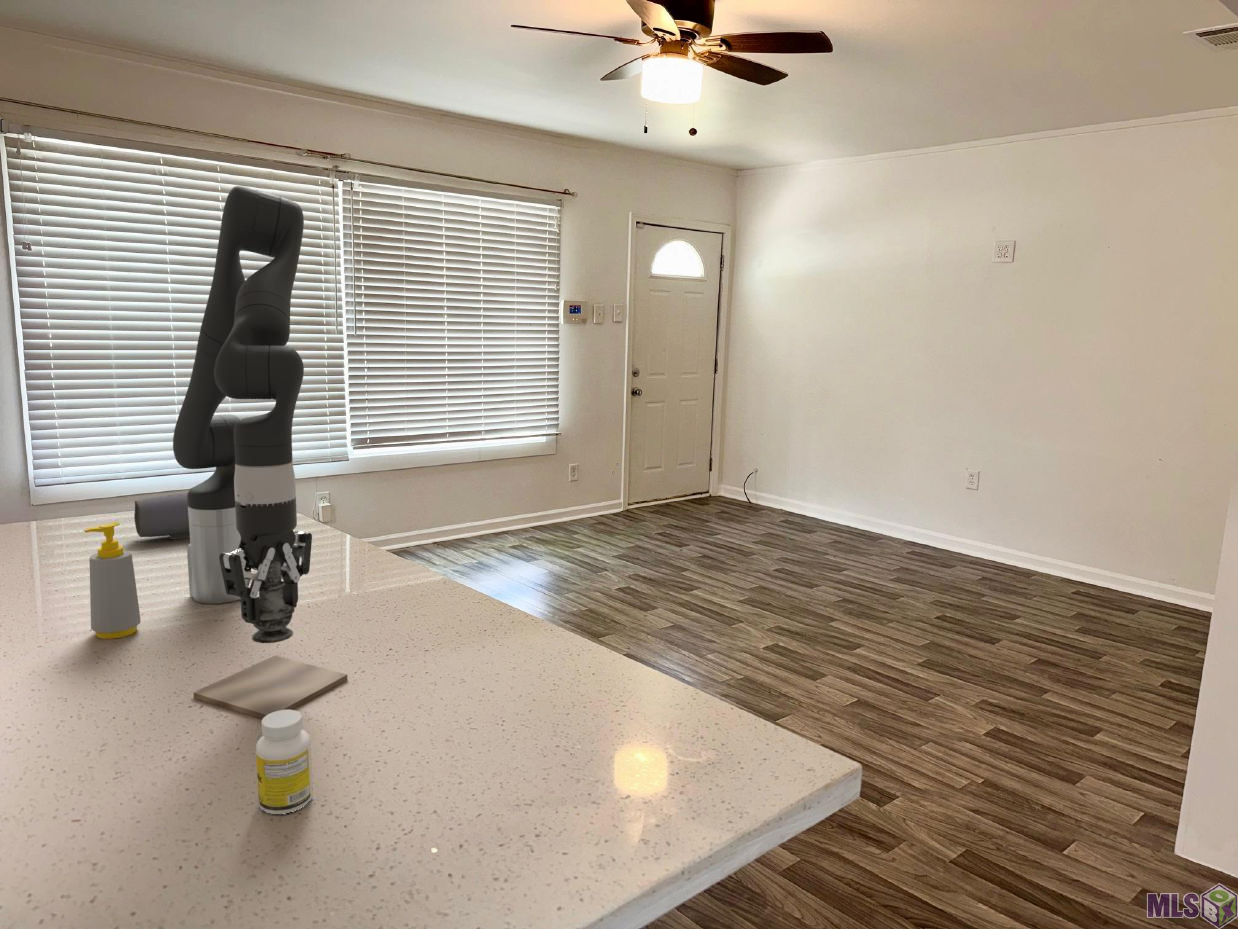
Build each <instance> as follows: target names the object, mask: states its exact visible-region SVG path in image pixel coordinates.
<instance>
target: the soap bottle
mask: <svg viewBox="0 0 1238 929" xmlns="http://www.w3.org/2000/svg"><path fill="white" fill-rule="evenodd" d="M119 525H120V522H118V521H117V522H112V523H109V524H104V525H100V526H93V527H88V528H86V529H84V532H85V533H93V532H94V533H95V532H96V533H103V536H104V537H105V540H103V541H101V544H100V545H101V547H98V548H97V552H95V553H93V554H91V555H90V556H89V592H90V594H89V597H90V598H89V599H90V600H89V601H90V604H89V605H90V629H91V630H92V631H93V632H94V633H95V636H96V637H97V638H99V639H104V640H113V639H121V638H123V637H128V636H130V635H133V634H134V633H136V631H137V628H138V625H140V624H141V622H142V621H141V618H142V617H141V613H140V612H141V611H140V606H139V599H138V589H137V583H136V575H135V567H134V560H133V559H134V558H133V554H132V552H131V551H130V550H126V549H124V547H123V546H122V545H119V541H118V540H117V539H114V536H115V527H118V526H119Z"/></svg>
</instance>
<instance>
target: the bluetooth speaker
mask: <svg viewBox="0 0 1238 929" xmlns="http://www.w3.org/2000/svg"><path fill="white" fill-rule="evenodd" d="M187 495H188V492H186V493H185V492H184V493H178V494H176V493H175V494H169V495H168V494H167V495H161V496H153V497H147V498H142V499H141V498H140V499H137V500H135V501H134V512H133V513H134V514H133V516H134V517H133V518H134V524H135V530H136V533H137V535H138V536H139V537H140V538H152V537H153V538H154V537H167V536H168V537H169V538H170V539H171V540H178V539H185V538H186V539H187V538H190V531H189V516H188V500H187Z"/></svg>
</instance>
